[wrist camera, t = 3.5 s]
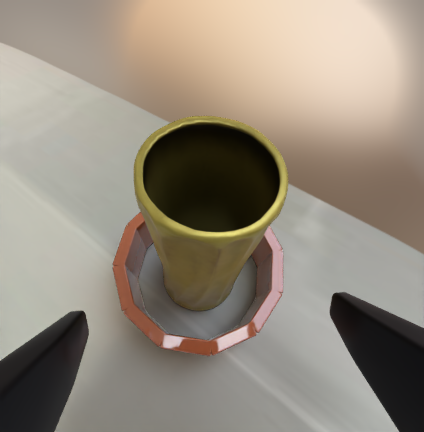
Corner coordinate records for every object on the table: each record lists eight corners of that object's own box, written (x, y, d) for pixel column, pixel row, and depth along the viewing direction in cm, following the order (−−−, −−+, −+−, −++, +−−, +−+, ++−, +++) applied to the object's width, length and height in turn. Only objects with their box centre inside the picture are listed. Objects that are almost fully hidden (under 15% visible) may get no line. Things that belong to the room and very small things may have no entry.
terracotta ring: (210, 387, 17) (216, 403, 13) (100, 283, 20) (76, 268, 16) (289, 264, 22) (311, 247, 18) (191, 193, 24) (191, 164, 20)
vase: (162, 243, 21) (122, 107, 9) (228, 237, 22) (278, 104, 10) (164, 315, 19) (110, 267, 6) (239, 306, 20) (330, 246, 7)
